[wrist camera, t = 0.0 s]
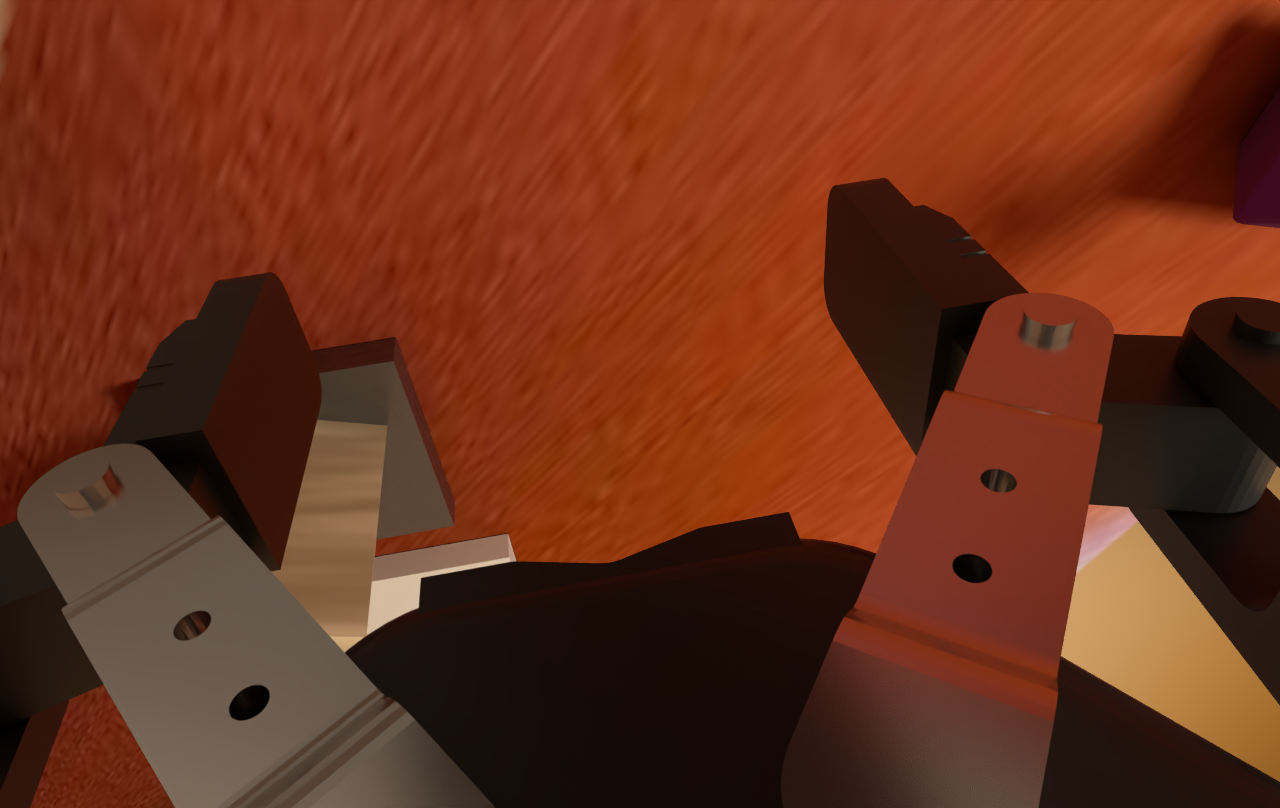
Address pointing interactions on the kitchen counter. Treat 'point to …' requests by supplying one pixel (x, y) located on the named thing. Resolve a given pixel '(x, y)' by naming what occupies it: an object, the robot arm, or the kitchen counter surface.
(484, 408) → the kitchen counter surface
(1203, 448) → the robot arm
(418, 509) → the stand
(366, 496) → the sleeve
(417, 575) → the board
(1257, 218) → the perfume bottle
